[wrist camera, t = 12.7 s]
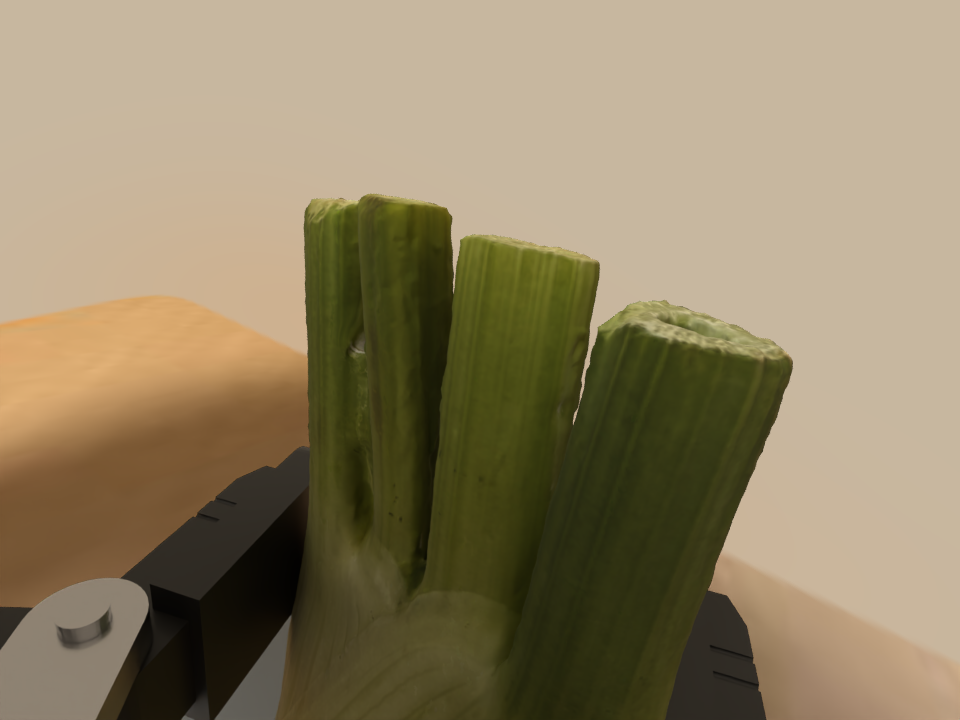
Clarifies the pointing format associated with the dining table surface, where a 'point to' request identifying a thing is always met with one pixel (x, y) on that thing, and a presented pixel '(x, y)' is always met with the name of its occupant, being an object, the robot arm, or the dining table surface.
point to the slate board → (260, 685)
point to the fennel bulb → (505, 477)
